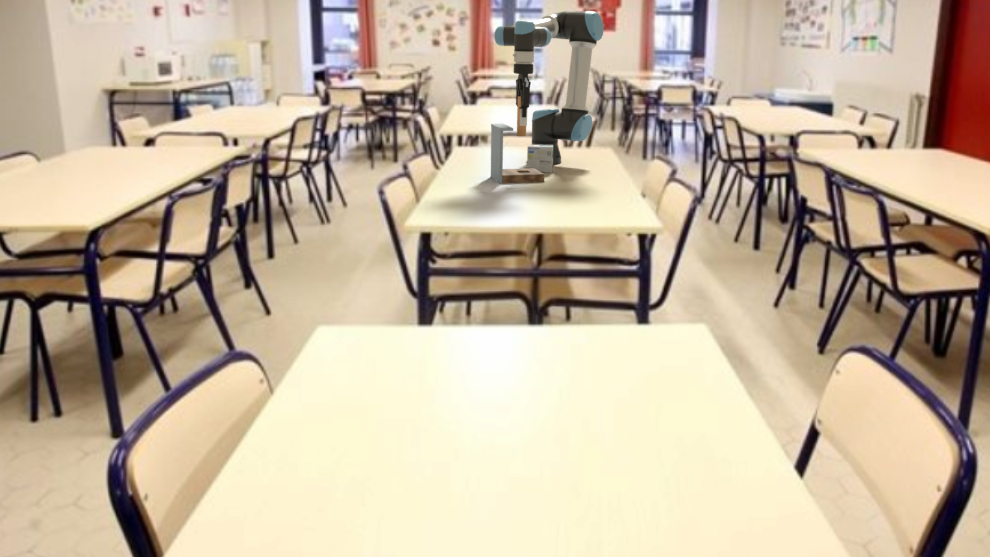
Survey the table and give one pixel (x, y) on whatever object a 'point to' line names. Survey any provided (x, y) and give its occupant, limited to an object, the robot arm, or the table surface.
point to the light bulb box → (540, 157)
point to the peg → (520, 129)
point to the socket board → (522, 175)
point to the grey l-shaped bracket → (497, 150)
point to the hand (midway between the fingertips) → (521, 125)
